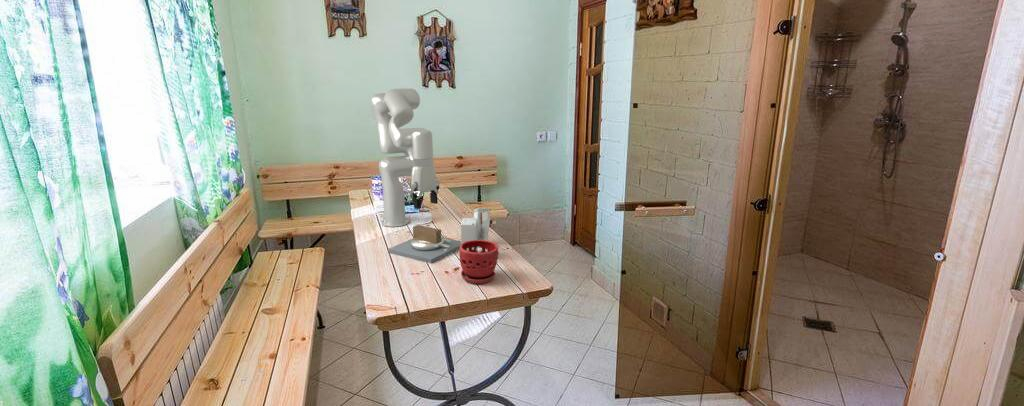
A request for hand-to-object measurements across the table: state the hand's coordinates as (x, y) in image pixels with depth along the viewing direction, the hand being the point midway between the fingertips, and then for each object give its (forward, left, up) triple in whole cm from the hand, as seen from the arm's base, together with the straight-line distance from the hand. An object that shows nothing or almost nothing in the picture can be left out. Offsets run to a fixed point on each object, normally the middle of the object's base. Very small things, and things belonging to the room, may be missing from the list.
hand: (426, 205), depth 184 cm
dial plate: (0, 0, -18) cm, 18 cm away
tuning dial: (+2, 0, -16) cm, 16 cm away
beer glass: (+16, +15, -18) cm, 28 cm away
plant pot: (+34, -13, -18) cm, 40 cm away
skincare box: (+20, +1, -18) cm, 27 cm away
